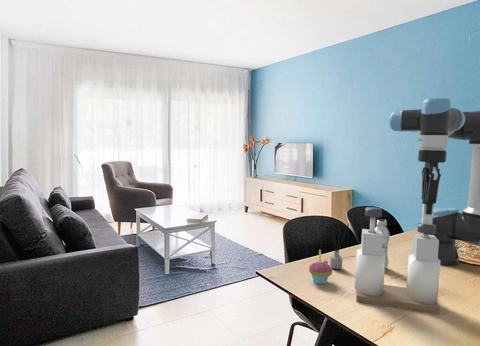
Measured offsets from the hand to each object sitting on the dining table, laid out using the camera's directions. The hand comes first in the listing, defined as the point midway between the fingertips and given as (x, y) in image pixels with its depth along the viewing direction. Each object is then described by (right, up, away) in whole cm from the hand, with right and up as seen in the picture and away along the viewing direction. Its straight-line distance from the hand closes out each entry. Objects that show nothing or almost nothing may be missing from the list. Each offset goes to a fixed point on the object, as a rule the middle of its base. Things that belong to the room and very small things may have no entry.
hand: (426, 223), depth 106 cm
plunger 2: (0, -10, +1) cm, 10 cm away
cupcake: (-29, -24, +18) cm, 42 cm away
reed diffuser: (-21, -23, +31) cm, 44 cm away
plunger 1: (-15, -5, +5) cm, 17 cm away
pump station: (-8, -26, +5) cm, 27 cm away
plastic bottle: (-2, -23, +32) cm, 39 cm away
